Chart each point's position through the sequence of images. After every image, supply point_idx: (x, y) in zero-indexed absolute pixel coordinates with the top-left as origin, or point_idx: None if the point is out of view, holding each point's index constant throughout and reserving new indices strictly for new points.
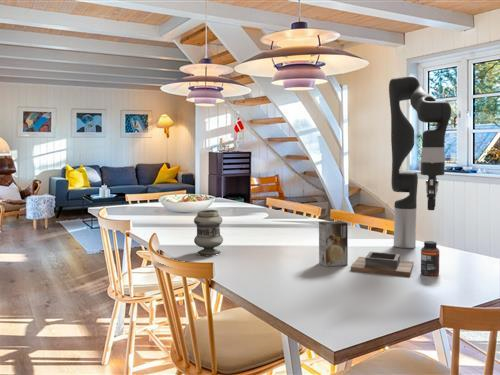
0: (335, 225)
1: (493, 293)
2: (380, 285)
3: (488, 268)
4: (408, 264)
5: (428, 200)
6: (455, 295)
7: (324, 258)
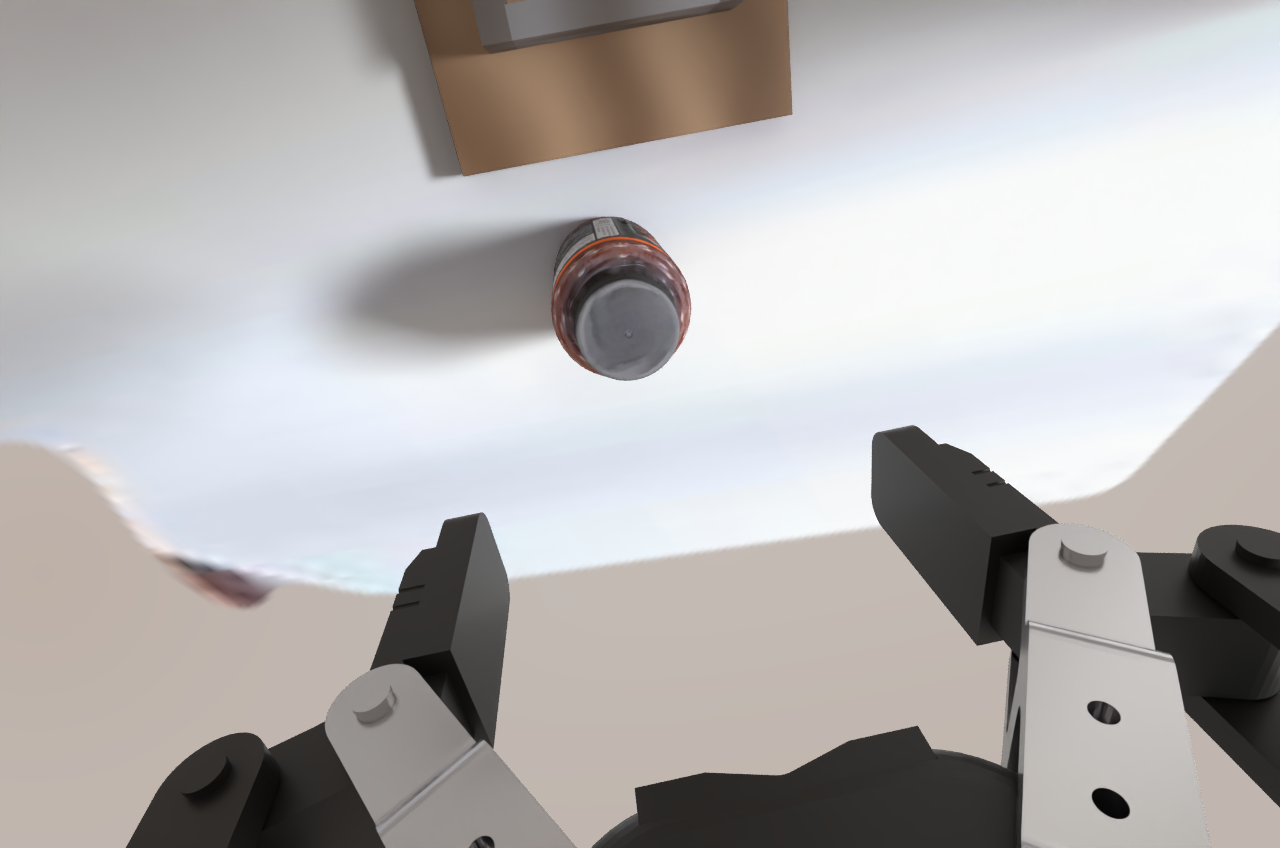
0: None
1: None
2: (94, 39)
3: None
4: (686, 101)
5: (417, 646)
6: (275, 471)
7: None
